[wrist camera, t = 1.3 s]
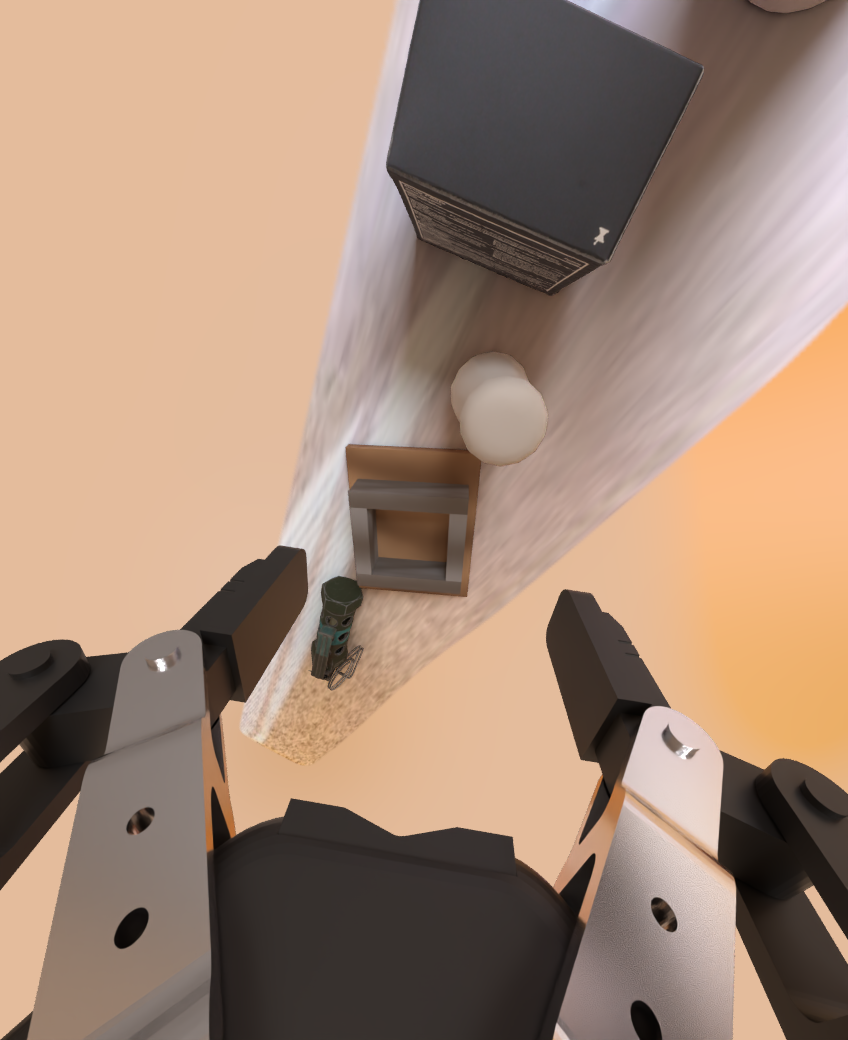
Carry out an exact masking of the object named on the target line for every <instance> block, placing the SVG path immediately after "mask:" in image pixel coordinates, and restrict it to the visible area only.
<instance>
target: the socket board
mask: <svg viewBox="0 0 848 1040" xmlns="http://www.w3.org/2000/svg"><path fill="white" fill-rule="evenodd" d="M345 448H346V458H347V468H348V478H349V488H350V490H349V491H348V496H349V506H350V516H351V525H352V535H353V545H354V555H355V565H356V575H357V585H358V586H359V588H369V589H381V590H392V591H404V592H416V593H428V594H439V595H451V596H463V597H467V592H468V583H469V573H470V563H471V554H472V544H473V535H474V525H475V515H476V506H477V496H478V486H479V477H480V467H481V460H479V459H478V458H477V457H476V456H474V455H473V454H472V453H470V452H469V451H468V450H457V449H436V448H415V447H394V446H373V445H353V444H349V445H348V446H347V447H345Z"/></svg>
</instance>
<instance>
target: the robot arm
mask: <svg viewBox="0 0 848 1040" xmlns="http://www.w3.org/2000/svg"><path fill="white" fill-rule="evenodd" d="M749 1H750V2H751V3H753V4H754V5H756V6H758V7H760V8H762V9H764V10H766V11H771V12H781V13H790V12H795V11H800V10H805V9H809V8H811V7H814V6H816V5H818V4H820V3H822V2H824V1H827V0H749ZM307 594H308V578H307V561H306V552H305V550H304V549H299V548H293V547H286V546H277V547H276V548H275V549H274V550H273V551H272V552H271V554H270V555H269V556H268V557H267V558H266V559H265V560H262V559H257V560H255V561H254V562H252V563H250V564H248V565H247V566H244V567H242V568H241V569H240V570H239V571H238V572H237V573H236V574H235V575H234V576H233V577H232V579H231V580H230V582H227V583H226V584H225V585H224V586H223V588H222V589H221V591H219V592H217V593H216V594H215V595H214V596H213V597H212V598H211V599H210V600H209V601H208V602H207V603H206V604H205V605H204V606H203V607H202V608H201V609H200V610H199V611H198V612H197V613H196V614H195V615H194V616H193V617H192V618H191V619H190V620H189V621H188V622H187V623H186V624H185V625H184V626H183V627H182V628H181V629H180V630H172V631H167V632H163V633H160V634H157V635H154V636H152V637H150V638H148V639H146V640H144V641H143V642H141V643H139V644H138V645H137V646H135V647H134V648H133V649H132V650H131V651H130V652H128V653H120V654H110V655H100V656H91V657H86V656H85V654H84V653H83V650H82V649H81V647H80V645H79V644H78V643H76V642H74V641H71V640H52V641H46V642H42V643H38V644H35V645H32V646H29V647H27V648H24V649H22V650H19V651H17V652H15V653H13V654H11V655H9V656H8V657H6V658H4V659H3V660H1V661H0V762H1V761H2V760H3V759H4V758H5V757H6V756H7V755H8V754H9V753H10V752H12V750H14V749H15V748H16V747H17V746H18V745H20V746H21V747H22V748H23V750H24V751H23V752H22V753H21V754H20V755H19V756H18V757H17V758H16V759H15V760H14V761H13V762H12V763H11V764H10V765H9V766H8V767H7V768H6V769H5V770H3V772H1V773H0V890H1V889H2V888H3V886H4V885H5V884H6V883H7V881H8V880H9V879H10V878H11V877H12V875H13V874H14V873H15V872H16V870H17V869H18V868H19V866H20V865H21V864H22V863H23V862H24V860H25V859H26V858H27V857H28V855H29V854H30V853H31V852H32V850H33V849H34V848H35V847H36V845H37V844H38V843H39V842H40V840H41V839H42V838H43V837H44V835H45V834H46V833H47V832H48V830H49V829H50V828H51V827H52V825H53V824H54V823H55V822H56V821H57V819H58V818H59V817H60V815H61V814H62V813H63V812H64V811H65V809H66V808H67V807H68V806H69V804H70V803H71V802H72V801H73V799H74V798H75V797H76V796H77V794H78V793H79V792H80V796H79V800H78V805H77V810H76V814H75V819H74V824H73V829H72V833H71V838H70V842H69V847H68V852H67V856H66V862H65V866H64V870H63V875H62V879H61V884H60V889H59V894H58V898H57V903H56V907H55V912H54V917H53V921H52V926H51V931H50V935H49V940H48V945H47V949H46V954H45V958H44V963H43V968H42V973H41V977H40V982H39V986H38V991H37V996H36V1001H35V1005H34V1010H33V1011H32V1012H31V1013H30V1014H29V1015H28V1016H27V1017H26V1018H24V1019H23V1020H22V1021H21V1022H20V1023H19V1024H18V1025H17V1026H15V1027H14V1028H13V1029H12V1030H11V1031H10V1032H9V1033H8V1034H6V1035H5V1036H4V1037H3V1038H2V1039H1V1040H732V1037H733V998H734V961H735V960H734V959H735V958H734V957H735V925H736V927H737V929H738V931H739V934H740V936H741V938H742V940H743V943H744V945H745V947H746V949H747V952H748V954H749V956H750V958H751V961H752V963H753V965H754V967H755V970H756V972H757V974H758V976H759V979H760V981H761V983H762V985H763V988H764V990H765V992H766V994H767V997H768V999H769V1001H770V1003H771V1006H772V1008H773V1010H774V1012H775V1015H776V1017H777V1019H778V1021H779V1024H780V1026H781V1028H782V1030H783V1033H784V1035H785V1037H786V1039H787V1040H848V964H847V962H846V961H845V959H844V957H843V956H842V954H841V952H840V951H839V949H838V947H837V946H836V944H835V943H834V941H833V939H832V937H831V936H830V934H829V932H828V931H827V929H826V927H825V926H824V924H823V922H822V921H821V919H820V917H819V916H818V914H817V913H816V911H815V909H814V907H813V906H812V904H811V902H810V901H809V899H808V897H807V896H806V894H805V892H804V891H805V890H806V889H808V888H810V887H811V886H813V885H814V886H815V888H816V890H817V891H818V893H819V894H820V896H821V898H822V899H823V901H824V902H825V904H826V906H827V907H828V909H829V910H830V912H831V914H832V915H833V917H834V918H835V920H836V922H837V923H838V925H839V926H840V928H841V930H842V931H843V933H844V934H845V936H846V938H847V939H848V794H847V793H846V792H845V791H844V790H842V789H841V788H840V787H839V786H838V785H836V784H835V783H834V782H832V781H831V780H830V779H828V778H827V777H825V776H824V775H823V774H821V773H819V772H818V771H816V770H814V769H813V768H811V767H809V766H807V765H805V764H802V763H800V762H797V761H794V760H791V759H784V758H783V759H777V760H775V761H774V762H773V763H771V764H770V765H769V766H768V767H767V768H766V769H765V770H764V769H761V768H759V767H756V766H754V765H752V764H750V763H747V762H745V761H743V760H741V759H738V758H736V757H734V756H731V755H729V754H727V753H724V752H722V751H720V750H719V749H718V747H717V746H716V744H715V742H714V741H713V740H712V739H711V737H710V736H709V735H708V734H707V733H706V732H705V731H704V730H703V729H702V728H701V727H700V726H699V725H698V724H697V723H695V722H694V721H693V720H691V719H690V718H688V717H687V716H685V715H683V714H682V713H680V712H678V711H675V710H673V709H671V707H670V706H669V704H668V702H667V701H666V699H665V697H664V696H663V694H662V692H661V691H660V689H659V687H658V686H657V684H656V682H655V681H654V679H653V677H652V675H651V674H650V672H649V670H648V669H647V667H646V665H645V664H644V662H643V660H642V659H641V658H639V654H638V652H637V650H636V649H635V647H634V645H632V642H631V640H630V638H629V637H628V635H627V633H626V632H625V630H624V628H623V627H622V626H621V625H620V624H619V623H618V622H617V621H616V620H615V619H614V618H613V617H612V616H611V615H610V614H609V613H605V612H602V611H601V609H600V607H599V605H598V604H597V602H596V600H595V598H594V596H593V595H592V594H591V593H585V592H579V591H572V590H566V589H565V590H563V591H562V592H561V594H560V596H559V598H558V601H557V604H556V606H555V609H554V611H553V614H552V617H551V619H550V622H549V624H548V627H547V632H546V643H547V648H548V652H549V655H550V658H551V662H552V665H553V668H554V672H555V675H556V678H557V682H558V685H559V689H560V692H561V695H562V699H563V702H564V705H565V708H566V712H567V715H568V719H569V722H570V725H571V729H572V732H573V736H574V739H575V742H576V746H577V749H578V752H579V756H580V759H581V760H585V761H591V762H597V763H599V765H600V768H601V770H602V776H601V777H600V779H599V780H598V783H597V786H596V788H595V790H594V793H593V796H592V798H591V801H590V804H589V806H588V809H587V811H586V814H585V817H584V819H583V822H582V824H581V827H580V830H579V832H578V835H577V837H576V840H575V842H574V845H573V848H572V850H571V852H570V854H569V856H568V859H567V861H566V862H565V864H564V866H563V868H562V870H561V872H560V874H559V876H558V878H557V880H556V882H555V884H554V887H552V886H551V885H550V884H549V883H548V882H547V881H546V880H545V879H544V878H543V877H541V876H540V875H539V874H538V873H537V872H536V871H534V870H533V869H532V868H530V867H529V866H528V865H526V864H524V863H523V862H522V861H520V860H518V859H516V858H515V856H514V846H513V837H510V836H504V835H499V834H492V833H487V832H481V831H475V830H469V829H464V828H458V827H456V828H450V829H445V830H439V831H433V832H427V833H421V834H415V835H409V836H396V835H393V834H391V833H390V832H388V831H386V830H384V829H382V828H380V827H379V826H377V825H375V824H373V823H371V822H369V821H368V820H366V819H364V818H362V817H361V816H359V815H357V814H355V813H353V812H352V811H350V810H348V809H346V808H343V807H338V806H332V805H326V804H320V803H314V802H309V801H303V800H297V799H291V800H290V803H289V805H288V808H287V811H286V813H285V816H284V817H279V818H275V819H271V820H268V821H265V822H262V823H259V824H257V825H255V826H253V827H250V828H248V829H246V830H244V831H243V832H241V833H239V834H237V835H236V831H235V824H234V817H233V811H232V806H231V801H230V794H229V786H228V776H227V767H226V756H225V745H224V734H223V724H222V716H221V712H222V711H223V709H224V707H225V706H226V705H227V703H228V701H229V700H234V701H240V702H245V703H246V701H247V700H248V698H249V696H250V695H251V693H252V691H253V690H254V688H255V686H256V685H257V683H258V681H259V680H260V678H261V676H262V675H263V673H264V672H265V670H266V668H267V667H268V665H269V663H270V662H271V660H272V658H273V657H274V655H275V653H276V652H277V650H278V648H279V647H280V645H281V643H282V642H283V640H284V639H285V637H286V635H287V634H288V632H289V630H290V629H291V627H292V625H293V624H294V622H295V620H296V619H297V617H298V615H299V614H300V612H301V610H302V609H303V607H304V605H305V602H306V599H307Z"/></svg>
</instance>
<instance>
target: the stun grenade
mask: <svg viewBox="0 0 848 1040" xmlns="http://www.w3.org/2000/svg"><path fill="white" fill-rule="evenodd" d="M321 597H322V603H323V609H322V612H321V616H320V624H319V628H318V632H317V639H316V640H314V641H313V642H312V647H311V654H312V665H313V666H312V671H311V675H312V676H314V677H316V678H318V679H319V678H320V679H322V680H327V681H329V680H330V681H329V683H328V688H329V689H330V690H334V689H336V688H337V687H339V686H340V685H341V684H342V683H343V681H344V680H345V679H346V678H348V679H350V678H351V677H352V676H353V674H354V672H355V669H356V667H357V665H358V662H359V660H360V658H361V655H362V653H363V650H364V648H361V645H360V646H357V647H356V648H355V649H354V650H352V651H351V652H350V653H349V654H348V651H347V645H346V644H347V641H348V637H349V633H350V629H351V625H352V622H353V617H354V613H355V610H356V608H358V607H359V606H361V603H362V600H363V594H362V590H361V588H359V586H358V585H357V581H355V580H352V579H349V578H346V577H340V576H338V577H335V578H332V579H330V580H329V581H327V582H325V583H323V584H322V589H321ZM328 617H330V618H328ZM349 620H350V621H349ZM339 637H340V638H341V640H339V639H338V638H339ZM358 647H359V650H358V651H357V652H355V653H354V654H353V655H352V656H351V657H349V658H348V659H347V657H348V656H349V655H350V654H351V653H352V652H353V651H355V650H356V649H357V648H358ZM361 649H362V652H361V654H360V656H359V659H358V661H357V663H356V666H355V668H354V670H353V667H354V664H355V662H356V659H357V657H358V654H359V651H360V650H361ZM356 653H357V655H356V658H355V660H354V659H353V658H352V657H353V656H354V655H355V654H356ZM349 660H351V663H350V661H349ZM348 661H349V662H348ZM346 662H347V663H346ZM352 662H353V664H352ZM345 663H346V664H345ZM348 663H350V666H349V668H348V669H347V671H346V673H345V674H344V673H342V672H340V671H341V670H342V669H343V668H344V667H345V666H346V665H347V664H348ZM344 664H345V665H344ZM343 665H344V666H343ZM351 665H352V667H351ZM342 666H343V667H342ZM337 667H338V668H337ZM341 667H342V668H341ZM350 667H351V669H350ZM335 668H337V669H335ZM340 668H341V669H340ZM339 669H340V670H339ZM349 669H350V671H349ZM334 670H336V671H335V673H334V674H333V672H334ZM338 670H339V671H338ZM352 670H353V673H352V675H351V676H350V677H348V676H349V675H350V674H351V672H352ZM308 671H309V670H308ZM348 671H349V672H348ZM336 672H338V673H339V674H340V675H342V676H343V677H342V678H341V679H340V680H339V681H338V682H337V683H336V684H335V685H334V686H332V687H331V685H332V683H333V681H334V679H335V678H336V676H337V675H338V673H337V674H336ZM347 672H348V674H347ZM332 674H333V676H332ZM335 674H336V675H335ZM346 674H347V675H346ZM334 675H335V677H334ZM331 676H332V677H331ZM333 677H334V678H333ZM344 677H345V678H344ZM332 678H333V680H332ZM343 678H344V679H343ZM342 679H343V680H342ZM331 680H332V682H331ZM341 680H342V682H341V683H340V684H339V685H337V684H338V683H339V682H340V681H341ZM330 682H331V684H330ZM329 684H330V687H329ZM336 685H337V686H336ZM335 686H336V687H335ZM333 687H335V688H333ZM331 688H333V689H331Z"/></svg>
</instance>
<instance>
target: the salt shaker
mask: <svg viewBox="0 0 848 1040" xmlns="http://www.w3.org/2000/svg"><path fill="white" fill-rule="evenodd" d="M451 405H452V408H453V410H454V412H455V415H456V417H457V419H458V421H459V422H460V434H461V436H462V438H463V441H464V443H465V445H466V447H467V449H468V451H469V452H470V453H472V454H473V455H474V456H476V457H477V458H478V459H479V460H481V461H482V462H483V463H488V464H492V465H496V466H500V467H501V466H505V465H510V464H515V463H519V462H520V461H522V460H523V459H525V458H526V457H528V456H529V455H531V454H532V453H534V452H535V451H536V449H537V447H538V446H539V444H540V443H541V441H542V439H543V438H544V436H545V433H546V427H547V420H548V412H547V409H546V406H545V403H544V401H543V398H542V395H541V393H540V392H539V391H538V390H536V389H535V388H534V387H533V386H532V385H531V384H530V383H529V381H528V378H527V376H526V373H525V370H524V367H523V366H521V365H520V364H519V363H518V362H517V361H516V360H515V359H514V358H513V357H512V356H511V355H507V354H503V353H498V352H493V351H491V352H487V353H483V354H480V355H476V356H473V357H472V358H471V359H470V360H469V361H468V362H467V363H465V364H464V365H463V366H462V367H461V368H460V369H459V371H458V373H457V375H456V377H455V379H454V381H453V383H452V385H451Z"/></svg>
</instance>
